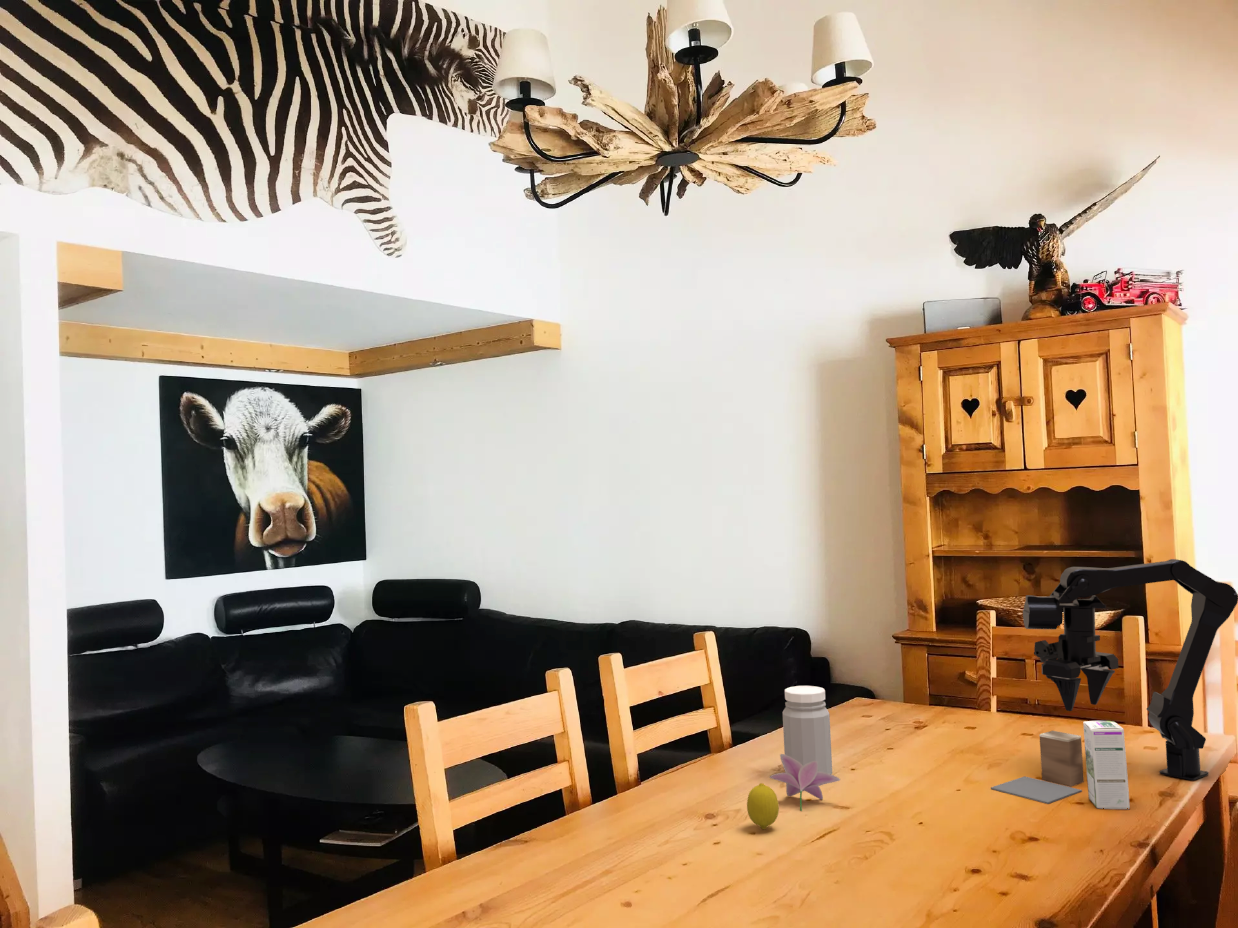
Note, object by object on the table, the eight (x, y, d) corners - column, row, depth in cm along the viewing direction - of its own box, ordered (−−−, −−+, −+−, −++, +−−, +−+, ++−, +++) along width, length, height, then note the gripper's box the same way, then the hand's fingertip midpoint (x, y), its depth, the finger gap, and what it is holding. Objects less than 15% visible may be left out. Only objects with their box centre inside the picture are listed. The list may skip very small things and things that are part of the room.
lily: (849, 813, 179) (845, 761, 184) (810, 802, 172) (806, 748, 177) (797, 821, 187) (795, 771, 192) (758, 810, 180) (756, 758, 185)
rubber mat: (1024, 777, 193) (1024, 776, 193) (1081, 791, 183) (1081, 789, 183) (990, 788, 187) (990, 787, 187) (1048, 803, 177) (1048, 802, 177)
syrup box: (1131, 809, 172) (1126, 727, 172) (1095, 808, 173) (1090, 727, 173) (1121, 799, 177) (1116, 720, 178) (1086, 798, 178) (1082, 719, 179)
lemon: (782, 824, 171) (779, 779, 172) (776, 835, 166) (774, 788, 167) (751, 822, 173) (749, 777, 174) (745, 833, 168) (743, 786, 168)
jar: (780, 781, 197) (776, 693, 197) (790, 768, 206) (786, 683, 206) (828, 785, 193) (824, 695, 194) (836, 771, 202) (832, 685, 203)
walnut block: (1055, 775, 193) (1052, 730, 194) (1083, 782, 188) (1081, 735, 189) (1042, 779, 191) (1039, 734, 191) (1070, 786, 186) (1067, 739, 186)
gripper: (1066, 621, 207) (1068, 694, 206) (1016, 629, 196) (1018, 706, 195) (1118, 627, 198) (1120, 703, 197) (1068, 636, 187) (1070, 716, 186)
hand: (1081, 707), depth 194 cm, fingers open, 9 cm apart
